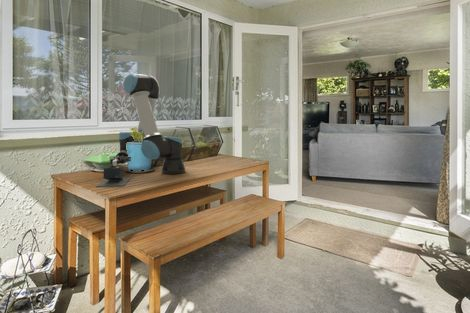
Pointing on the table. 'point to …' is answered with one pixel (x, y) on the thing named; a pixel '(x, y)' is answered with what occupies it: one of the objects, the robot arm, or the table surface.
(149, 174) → the table surface
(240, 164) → the table surface
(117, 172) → the box
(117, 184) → the felt mat
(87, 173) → the table surface
